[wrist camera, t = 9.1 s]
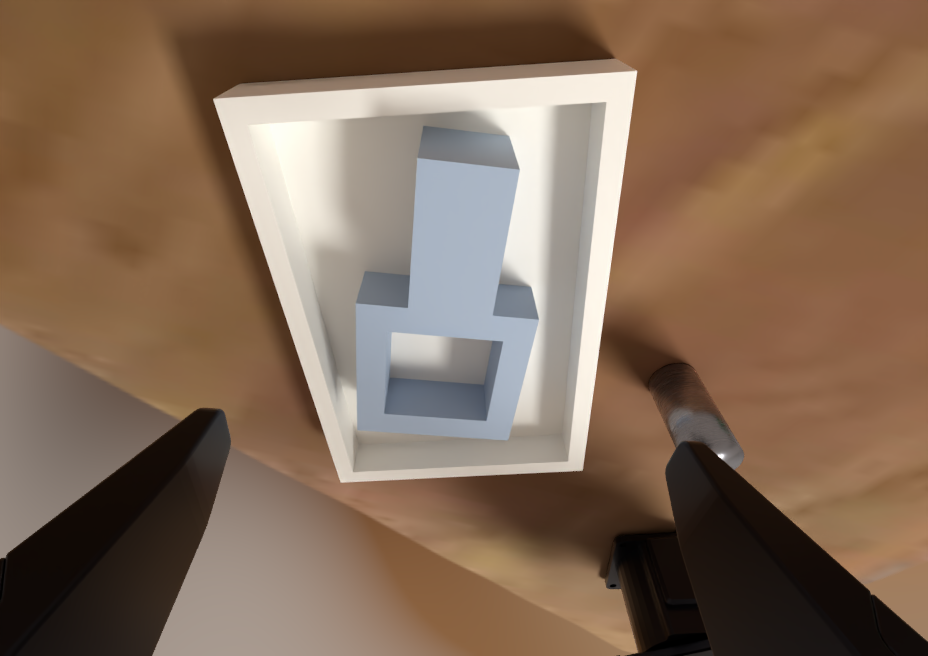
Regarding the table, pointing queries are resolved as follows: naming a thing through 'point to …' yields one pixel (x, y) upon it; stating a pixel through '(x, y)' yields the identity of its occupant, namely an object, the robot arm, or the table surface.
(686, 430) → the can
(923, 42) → the table surface
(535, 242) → the tray
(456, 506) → the table surface
